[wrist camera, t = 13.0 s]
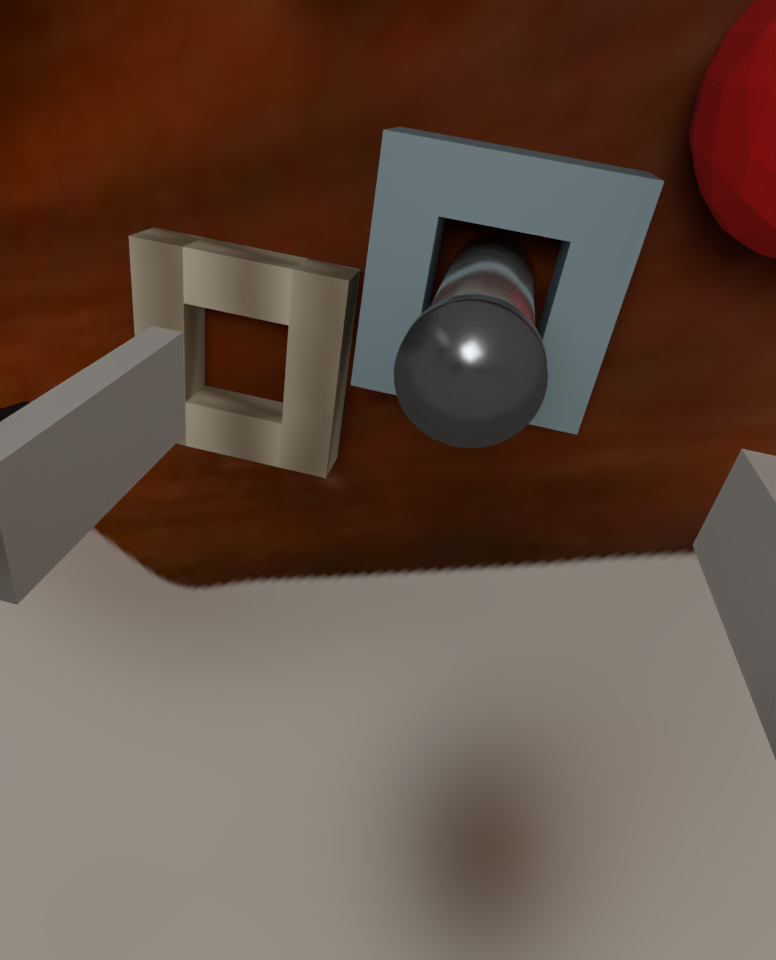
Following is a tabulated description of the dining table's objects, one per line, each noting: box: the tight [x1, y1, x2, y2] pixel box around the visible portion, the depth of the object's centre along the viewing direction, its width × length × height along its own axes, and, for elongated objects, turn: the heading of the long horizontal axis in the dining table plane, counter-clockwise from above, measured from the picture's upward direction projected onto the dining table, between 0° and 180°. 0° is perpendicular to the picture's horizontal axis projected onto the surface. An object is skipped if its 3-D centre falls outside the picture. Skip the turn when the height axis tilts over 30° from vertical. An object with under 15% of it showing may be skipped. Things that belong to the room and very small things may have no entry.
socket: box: [351, 127, 664, 435], centre depth 29 cm, size 11×11×4 cm
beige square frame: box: [129, 227, 361, 478], centre depth 34 cm, size 11×11×2 cm
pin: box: [394, 233, 548, 448], centre depth 25 cm, size 5×5×14 cm
